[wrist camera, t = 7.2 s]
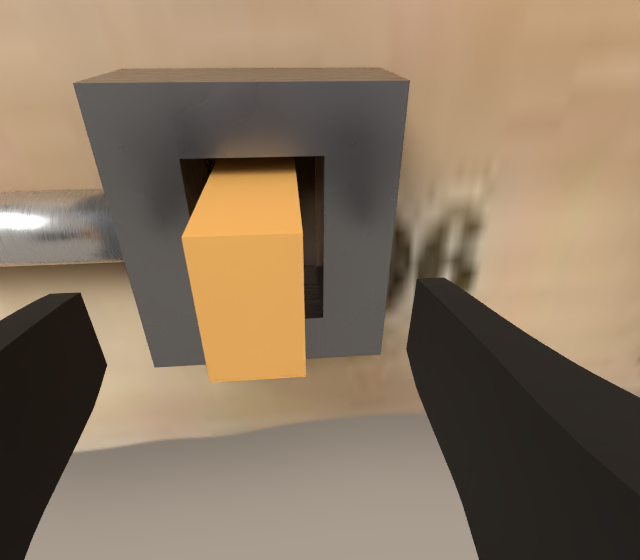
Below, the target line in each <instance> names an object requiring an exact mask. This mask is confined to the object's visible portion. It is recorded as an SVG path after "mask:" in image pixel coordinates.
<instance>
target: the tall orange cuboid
mask: <svg viewBox="0 0 640 560" xmlns="http://www.w3.org/2000/svg"><path fill="white" fill-rule="evenodd" d="M181 238H182V243H183V248H184V254H185V259H186V264H187V269H188V274H189V279H190V284H191V289H192V294H193V300H194V305H195V310H196V315H197V320H198V325H199V330H200V335H201V340H202V346H203V351H204V356H205V361H206V366H207V371H208V376H209V381H210V382H227V381H243V380H260V379H277V378H293V377H306V355H305V309H304V263H303V230H302V221H301V213H300V204H299V195H298V186H297V178H296V169H295V160H294V156H293V157H245V158H217V161H216V163H215V165H214V167H213V169H212V172H211V174H210V176H209V178H208V180H207V183H206V185H205V187H204V189H203V191H202V193H201V196H200V198H199V200H198V202H197V204H196V207H195V209H194V211H193V213H192V215H191V218H190V220H189V222H188V224H187V226H186V228H185V231H184V233H183V235H182V237H181Z"/></svg>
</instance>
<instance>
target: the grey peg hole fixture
mask: <svg viewBox="0 0 640 560" xmlns="http://www.w3.org/2000/svg"><path fill="white" fill-rule="evenodd" d="M409 84H410V80H407V79H405V78H403V77H400V76H398V75H396V74H393V73H391V72H389V71H386V70H384V69H382V68H241V69H120V70H117V71H113V72H110V73H106V74H103V75H99V76H96V77H92V78H89V79H86V80H82V81H79V82H75V83H73V85H74V88H75V92H76V95H77V99H78V102H79V106H80V109H81V113H82V116H83V120H84V123H85V127H86V130H87V134H88V137H89V141H90V144H91V148H92V151H93V155H94V158H95V162H96V165H97V168H98V172H99V175H100V179H101V182H102V186H103V189H86V190H48V191H9V192H0V267H8V266H34V265H60V264H85V263H111V262H125V266H126V269H127V273H128V276H129V280H130V283H131V287H132V290H133V294H134V297H135V301H136V304H137V308H138V311H139V315H140V318H141V322H142V325H143V329H144V332H145V336H146V339H147V343H148V346H149V350H150V353H151V356H152V360H153V363H154V367H170V366H187V365H205V364H206V361H205V356H204V351H203V346H202V340H201V335H200V330H199V325H198V320H197V315H196V310H195V305H194V300H193V294H192V289H191V284H190V279H189V274H188V269H187V264H186V259H185V254H184V248H183V243H182V238H181V237H182V235H183V233H184V231H185V228H186V226H187V224H188V222H189V220H190V218H191V215H192V213H193V211H194V209H195V207H196V204H197V202H198V200H199V198H200V196H201V193H202V191H203V189H204V187H205V185H206V183H207V180H208V176H207V169H206V163H205V158H245V157H293V156H315V266H304V309H305V355H306V359H310V358H327V357H345V356H362V355H380V354H381V345H382V336H383V326H384V317H385V308H386V298H387V289H388V280H389V270H390V261H391V252H392V242H393V233H394V224H395V214H396V205H397V196H398V186H399V177H400V168H401V158H402V149H403V140H404V130H405V121H406V112H407V102H408V93H409Z"/></svg>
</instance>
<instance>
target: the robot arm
mask: <svg viewBox="0 0 640 560" xmlns="http://www.w3.org/2000/svg"><path fill="white" fill-rule="evenodd" d="M406 349H407V354H408V358H409V362H410V366H411V370H412V373H413V377H414V381H415V384H416V388H417V391H418V393H419V396H420V398H421V401H422V403H423V406H424V408H425V411H426V413H427V416H428V418H429V421H430V423H431V426H432V428H433V431H434V433H435V436H436V438H437V440H438V443H439V445H440V448H441V450H442V453H443V455H444V457H445V460H446V462H447V465H448V467H449V470H450V472H451V474H452V477H453V480H454V482H455V485H456V488H457V490H458V493H459V496H460V499H461V501H462V504H463V507H464V511H465V514H466V517H467V520H468V524H469V527H470V531H471V534H472V537H473V540H474V544H475V547H476V551H477V554H478V557H479V560H640V398H639V397H637V396H635V395H633V394H632V393H630V392H628V391H626V390H624V389H622V388H620V387H618V386H616V385H614V384H612V383H611V382H609V381H607V380H605V379H603V378H601V377H599V376H597V375H595V374H593V373H592V372H590V371H588V370H586V369H585V368H583V367H581V366H579V365H577V364H576V363H574V362H572V361H571V360H569V359H567V358H566V357H564V356H562V355H561V354H559V353H557V352H556V351H554V350H552V349H551V348H549V347H548V346H546V345H544V344H543V343H541V342H539V341H538V340H536V339H535V338H533V337H532V336H530V335H528V334H527V333H525V332H524V331H522V330H521V329H519V328H518V327H516V326H515V325H513V324H512V323H510V322H509V321H507V320H506V319H504V318H503V317H501V316H500V315H499V314H497V313H496V312H494V311H493V310H491V309H490V308H488V307H487V306H486V305H484V304H483V303H481V302H480V301H478V300H477V299H476V298H474V297H473V296H471V295H470V294H468V293H467V292H465V291H464V290H463V289H461V288H460V287H458V286H457V285H455V284H454V283H452V282H450V281H449V280H447V279H445V278H425V279H417V282H416V289H415V296H414V302H413V309H412V315H411V322H410V329H409V335H408V342H407V348H406ZM106 367H107V363H106V360H105V358H104V355H103V352H102V350H101V347H100V344H99V342H98V339H97V336H96V334H95V331H94V328H93V325H92V323H91V320H90V317H89V315H88V312H87V309H86V307H85V304H84V301H83V298H82V296H81V293H59V294H49V295H47V296H45V297H42V298H40V299H38V300H36V301H34V302H32V303H31V304H29V305H27V306H25V307H23V308H21V309H20V310H18V311H16V312H14V313H13V314H11V315H9V316H7V317H6V318H4V319H2V320H1V321H0V560H24V559H25V555H26V553H27V550H28V548H29V545H30V542H31V540H32V537H33V535H34V532H35V530H36V528H37V526H38V524H39V521H40V519H41V517H42V515H43V512H44V510H45V508H46V506H47V504H48V502H49V500H50V498H51V496H52V494H53V492H54V490H55V487H56V485H57V483H58V481H59V479H60V477H61V475H62V473H63V471H64V469H65V467H66V465H67V463H68V461H69V459H70V456H71V455H72V453H73V451H74V448H75V446H76V444H77V442H78V440H79V438H80V436H81V434H82V432H83V430H84V428H85V425H86V423H87V421H88V419H89V417H90V415H91V413H92V410H93V408H94V405H95V402H96V399H97V396H98V394H99V391H100V387H101V384H102V381H103V377H104V374H105V371H106Z"/></svg>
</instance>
